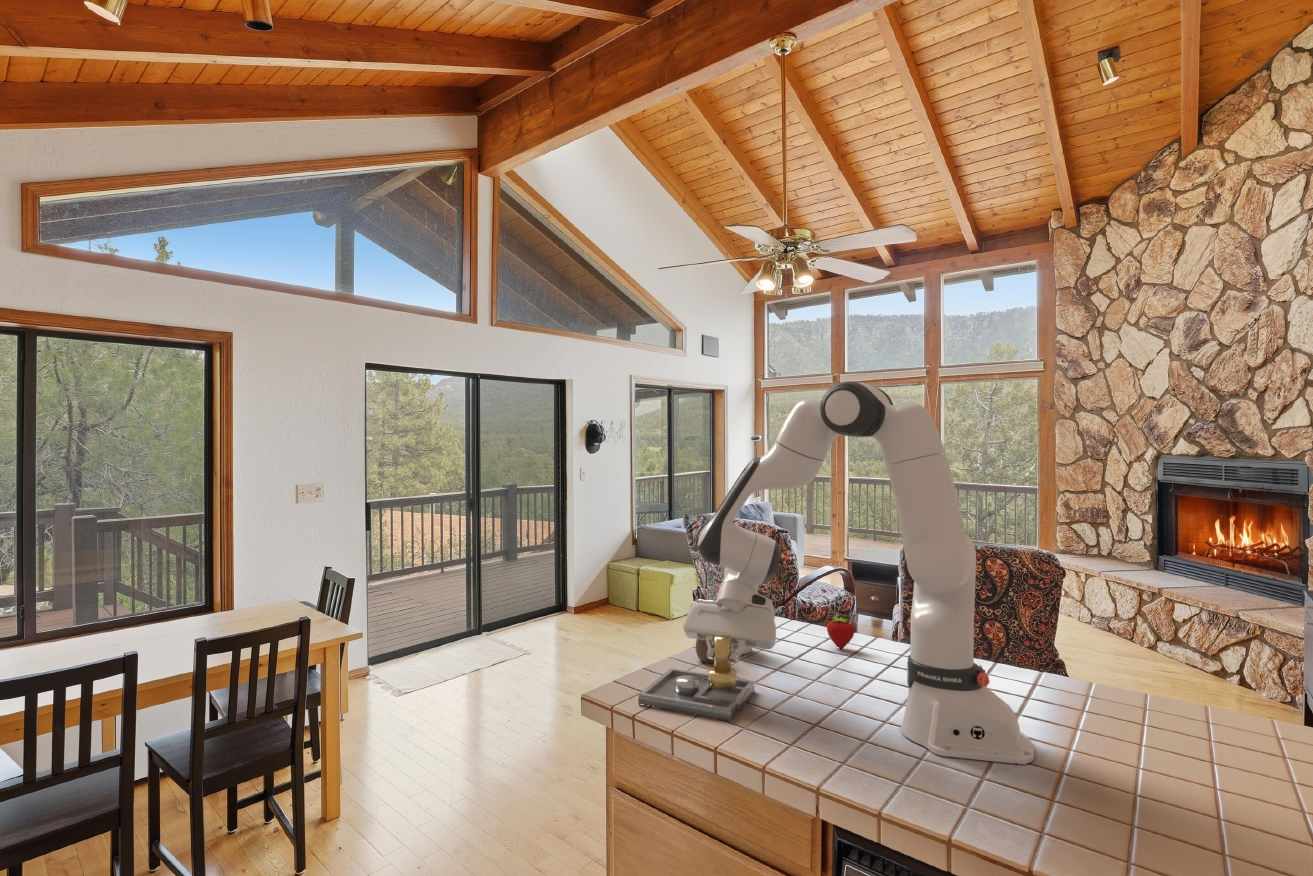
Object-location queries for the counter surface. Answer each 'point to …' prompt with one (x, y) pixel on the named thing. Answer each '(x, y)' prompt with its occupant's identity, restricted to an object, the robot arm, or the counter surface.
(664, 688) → the tray
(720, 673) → the gold peg with base
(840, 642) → the strawberry
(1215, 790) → the counter surface
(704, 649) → the vase
